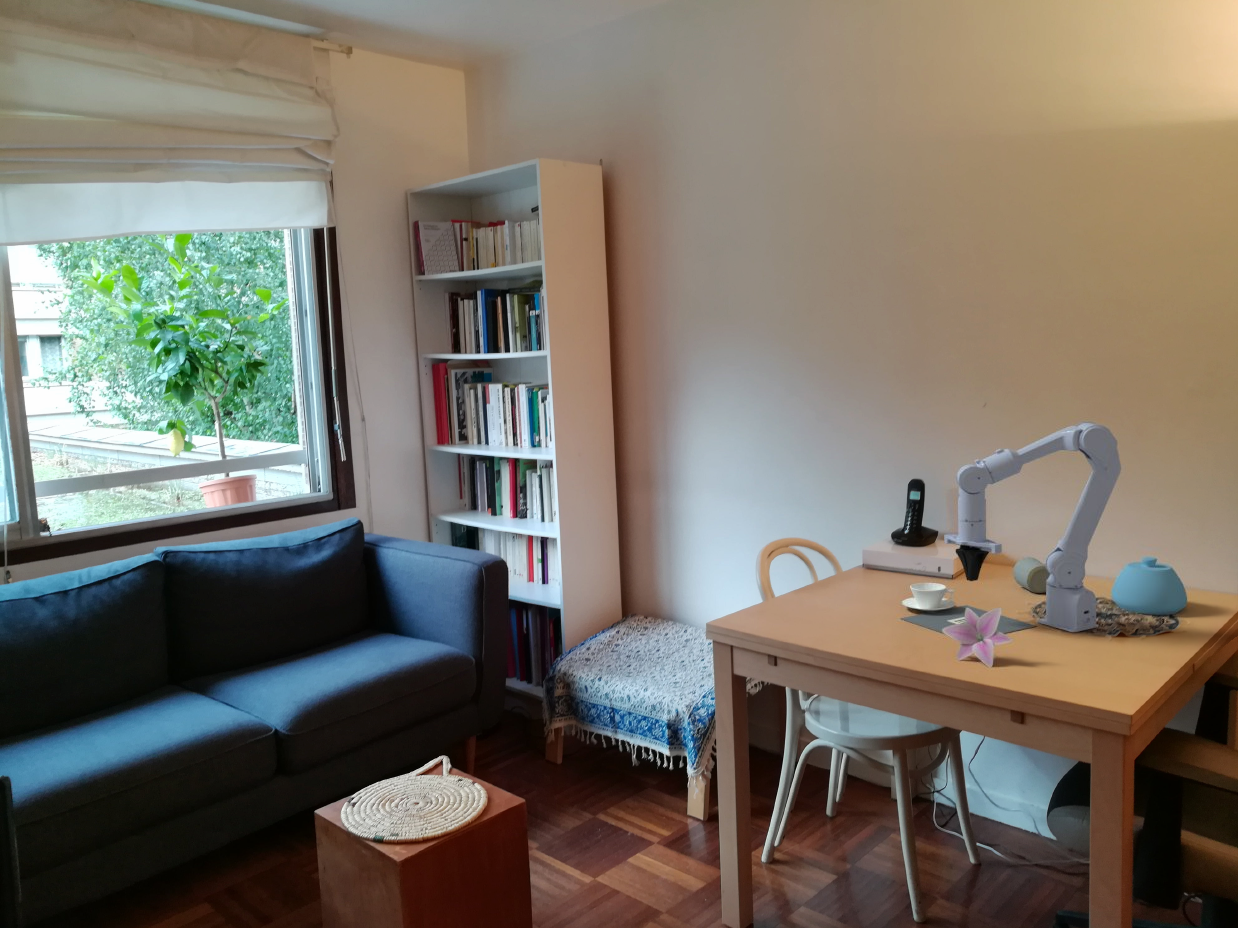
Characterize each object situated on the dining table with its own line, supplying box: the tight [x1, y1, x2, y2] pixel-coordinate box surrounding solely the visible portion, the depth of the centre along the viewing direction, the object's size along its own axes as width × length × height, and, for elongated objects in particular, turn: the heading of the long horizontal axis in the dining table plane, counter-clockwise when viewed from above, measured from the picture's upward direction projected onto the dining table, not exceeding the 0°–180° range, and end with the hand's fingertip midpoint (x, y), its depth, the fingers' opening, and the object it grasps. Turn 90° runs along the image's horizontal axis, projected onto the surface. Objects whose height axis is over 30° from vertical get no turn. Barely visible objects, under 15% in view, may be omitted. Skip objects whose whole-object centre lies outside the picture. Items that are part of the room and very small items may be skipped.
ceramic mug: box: [1012, 556, 1050, 594], centre depth 227 cm, size 11×8×8 cm
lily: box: [942, 607, 1013, 668], centre depth 180 cm, size 12×12×10 cm
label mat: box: [900, 604, 1037, 635], centre depth 204 cm, size 20×20×1 cm
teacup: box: [901, 582, 957, 612], centre depth 215 cm, size 12×12×5 cm
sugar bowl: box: [1110, 556, 1188, 616], centre depth 209 cm, size 15×15×12 cm
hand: (972, 580), depth 203 cm, fingers closed
